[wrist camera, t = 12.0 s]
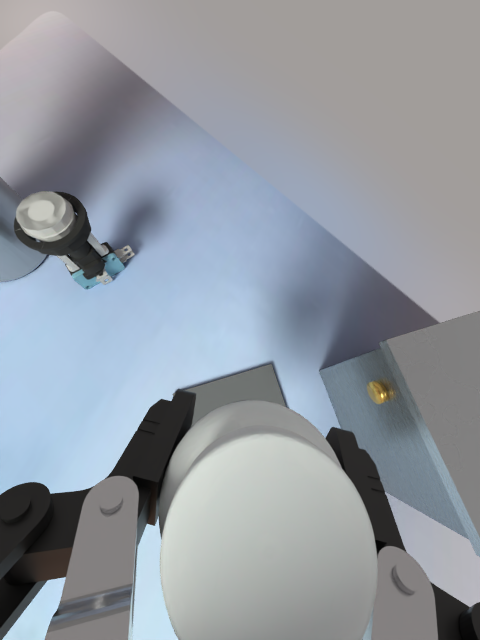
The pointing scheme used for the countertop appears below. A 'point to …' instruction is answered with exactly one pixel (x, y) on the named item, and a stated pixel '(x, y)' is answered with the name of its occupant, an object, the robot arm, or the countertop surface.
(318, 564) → the pill bottle
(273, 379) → the pad
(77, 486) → the countertop surface
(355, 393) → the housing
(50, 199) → the push button
